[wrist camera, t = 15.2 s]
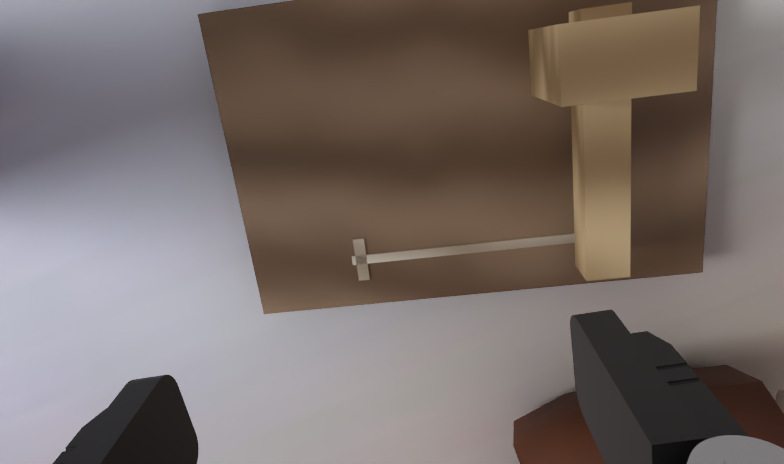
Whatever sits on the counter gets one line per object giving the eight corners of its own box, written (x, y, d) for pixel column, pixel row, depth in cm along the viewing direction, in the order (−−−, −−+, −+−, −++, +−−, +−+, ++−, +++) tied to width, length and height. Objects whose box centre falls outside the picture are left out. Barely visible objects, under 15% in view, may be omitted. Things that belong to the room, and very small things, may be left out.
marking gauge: (527, 18, 26) (558, 9, 20) (637, 3, 25) (700, -10, 20) (539, 257, 29) (567, 307, 24) (635, 248, 29) (688, 296, 23)
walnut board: (212, 16, 28) (196, 14, 26) (698, -54, 26) (721, -62, 24) (273, 298, 33) (263, 314, 31) (685, 258, 31) (703, 272, 29)
